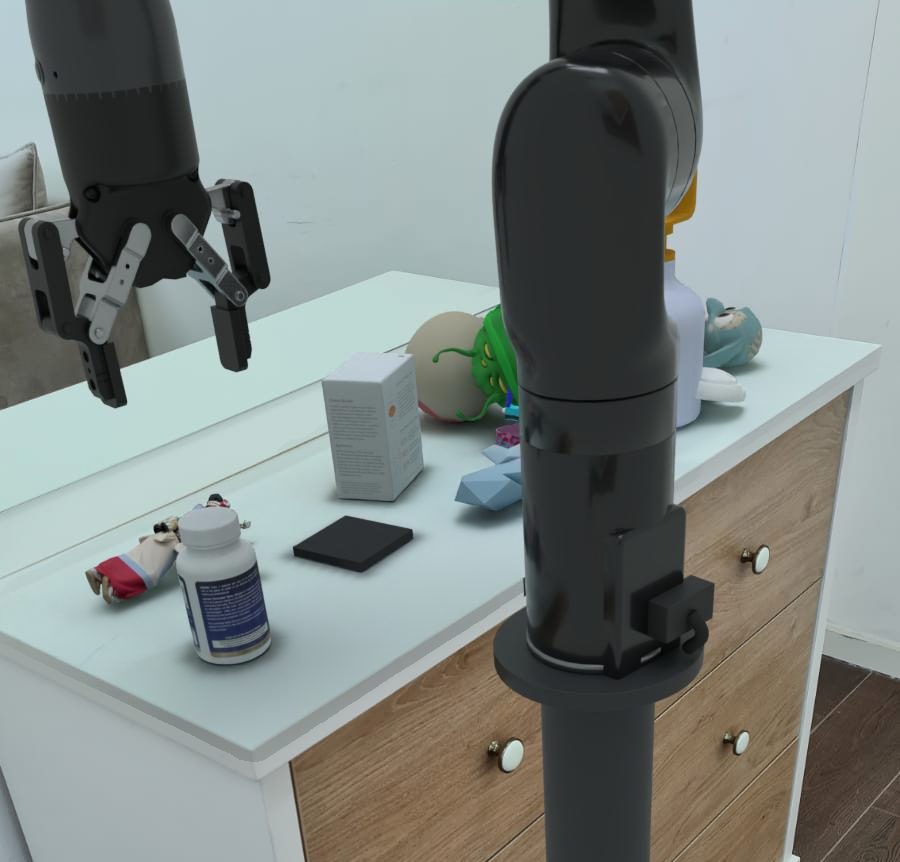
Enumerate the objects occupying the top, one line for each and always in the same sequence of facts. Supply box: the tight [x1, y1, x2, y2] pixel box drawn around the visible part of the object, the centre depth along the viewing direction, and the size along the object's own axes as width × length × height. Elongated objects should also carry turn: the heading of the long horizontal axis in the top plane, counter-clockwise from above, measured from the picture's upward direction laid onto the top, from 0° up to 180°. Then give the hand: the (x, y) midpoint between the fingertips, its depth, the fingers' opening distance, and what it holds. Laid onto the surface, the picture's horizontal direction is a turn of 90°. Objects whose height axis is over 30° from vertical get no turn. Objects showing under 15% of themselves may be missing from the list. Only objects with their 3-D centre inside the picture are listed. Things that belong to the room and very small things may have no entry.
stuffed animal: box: [703, 297, 763, 369], centre depth 125 cm, size 11×7×12 cm
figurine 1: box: [84, 493, 252, 606], centre depth 93 cm, size 6×8×15 cm
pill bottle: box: [175, 507, 272, 665], centre depth 80 cm, size 5×5×10 cm
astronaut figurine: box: [695, 367, 747, 403], centre depth 115 cm, size 9×12×3 cm
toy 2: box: [404, 310, 490, 423], centre depth 116 cm, size 10×12×10 cm
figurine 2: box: [433, 303, 519, 422], centre depth 108 cm, size 13×15×10 cm
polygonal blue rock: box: [453, 443, 522, 512], centre depth 99 cm, size 13×7×5 cm, turn 135°
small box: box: [321, 351, 425, 502], centre depth 103 cm, size 8×6×10 cm
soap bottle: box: [664, 167, 706, 429], centre depth 107 cm, size 9×9×25 cm
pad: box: [292, 514, 414, 573], centre depth 95 cm, size 7×7×1 cm
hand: (177, 386), depth 72 cm, fingers open, 8 cm apart
